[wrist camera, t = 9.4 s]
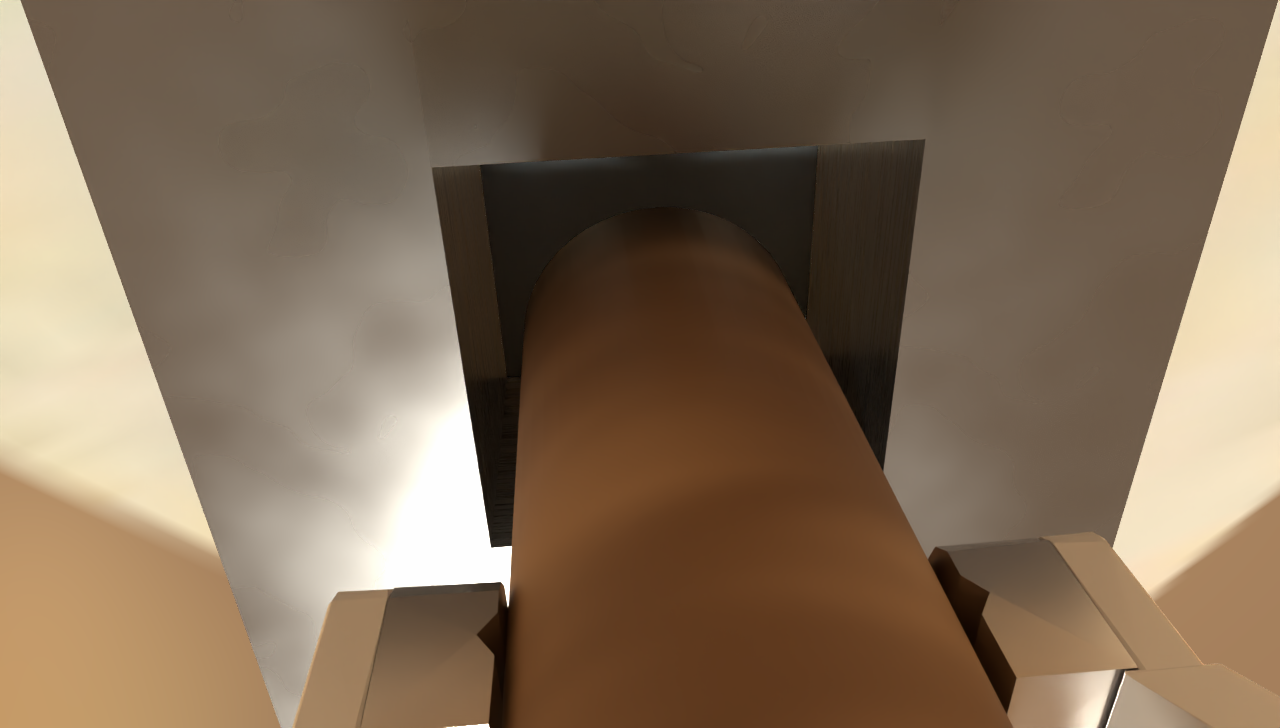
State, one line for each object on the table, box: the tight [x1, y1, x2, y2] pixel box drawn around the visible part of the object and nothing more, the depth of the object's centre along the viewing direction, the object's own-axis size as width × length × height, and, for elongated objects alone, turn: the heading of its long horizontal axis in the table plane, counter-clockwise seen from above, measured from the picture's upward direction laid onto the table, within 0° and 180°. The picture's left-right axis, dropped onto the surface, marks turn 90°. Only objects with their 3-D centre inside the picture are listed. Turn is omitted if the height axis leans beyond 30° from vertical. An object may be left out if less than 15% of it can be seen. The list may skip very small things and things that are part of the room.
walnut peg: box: [502, 207, 1013, 728], centre depth 8 cm, size 4×4×12 cm
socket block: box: [21, 0, 1278, 728], centre depth 15 cm, size 14×14×5 cm
